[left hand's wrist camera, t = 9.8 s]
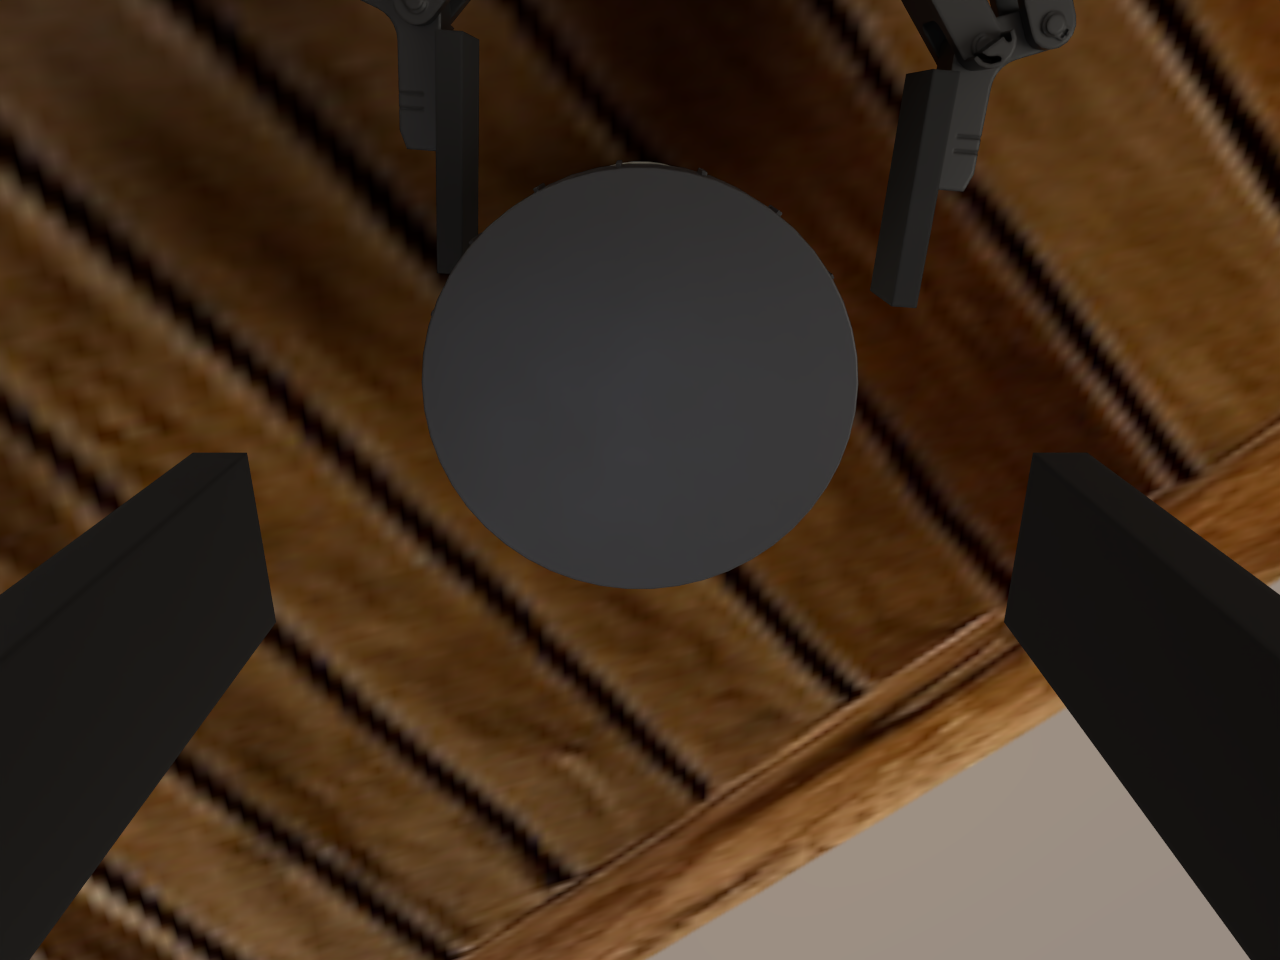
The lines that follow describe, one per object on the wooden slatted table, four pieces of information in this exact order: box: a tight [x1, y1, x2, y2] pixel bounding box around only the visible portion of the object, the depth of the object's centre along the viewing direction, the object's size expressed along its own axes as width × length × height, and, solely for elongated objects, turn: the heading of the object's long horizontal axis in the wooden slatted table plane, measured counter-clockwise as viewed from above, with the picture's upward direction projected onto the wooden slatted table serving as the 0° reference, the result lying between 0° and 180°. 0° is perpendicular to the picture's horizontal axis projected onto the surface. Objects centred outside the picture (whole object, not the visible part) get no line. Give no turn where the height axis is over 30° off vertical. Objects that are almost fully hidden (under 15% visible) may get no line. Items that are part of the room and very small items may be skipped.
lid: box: [422, 160, 858, 589], centre depth 21 cm, size 10×10×2 cm
